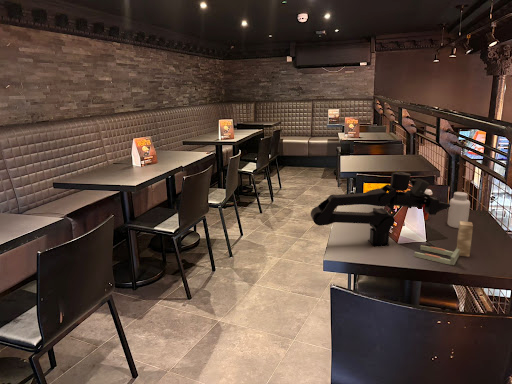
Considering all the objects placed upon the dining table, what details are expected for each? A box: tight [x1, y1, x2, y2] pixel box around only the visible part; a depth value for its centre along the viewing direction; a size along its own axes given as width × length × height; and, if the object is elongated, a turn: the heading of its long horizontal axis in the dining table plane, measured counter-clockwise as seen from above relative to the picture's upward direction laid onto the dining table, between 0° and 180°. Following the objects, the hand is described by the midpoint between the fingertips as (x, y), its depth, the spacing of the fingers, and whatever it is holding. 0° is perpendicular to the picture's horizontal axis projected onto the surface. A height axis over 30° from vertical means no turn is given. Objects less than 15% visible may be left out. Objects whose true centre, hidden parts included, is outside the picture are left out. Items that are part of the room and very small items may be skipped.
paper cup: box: [422, 188, 433, 221], centre depth 174 cm, size 8×8×14 cm
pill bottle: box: [447, 191, 471, 229], centre depth 163 cm, size 8×8×15 cm
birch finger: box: [455, 221, 474, 257], centre depth 136 cm, size 4×4×12 cm
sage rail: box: [413, 244, 460, 266], centre depth 136 cm, size 13×8×3 cm, turn 51°
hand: (443, 202), depth 145 cm, fingers open, 9 cm apart
